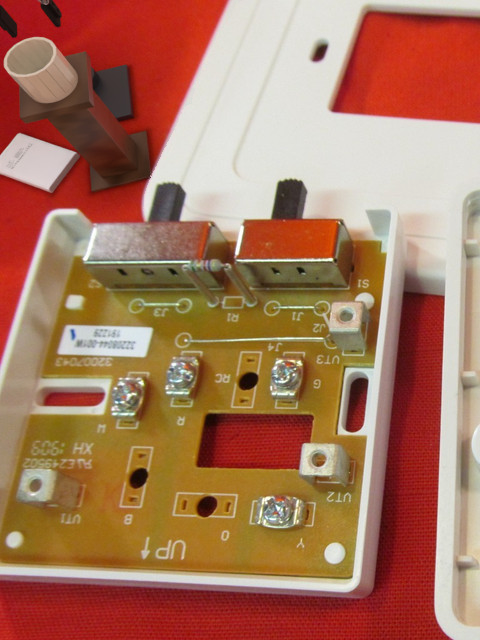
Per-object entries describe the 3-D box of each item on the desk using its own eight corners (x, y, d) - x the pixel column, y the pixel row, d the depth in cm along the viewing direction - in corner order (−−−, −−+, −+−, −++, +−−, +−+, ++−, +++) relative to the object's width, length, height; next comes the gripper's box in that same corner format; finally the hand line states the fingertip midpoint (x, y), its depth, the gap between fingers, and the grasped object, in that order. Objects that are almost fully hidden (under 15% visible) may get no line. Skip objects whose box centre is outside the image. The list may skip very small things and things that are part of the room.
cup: (28, 108, 98) (3, 82, 94) (28, 71, 101) (3, 44, 96) (79, 96, 99) (56, 69, 94) (77, 59, 101) (55, 31, 97)
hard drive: (54, 195, 115) (-5, 173, 117) (82, 158, 118) (24, 137, 120) (47, 189, 113) (-12, 167, 116) (76, 151, 116) (18, 131, 118)
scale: (73, 135, 119) (62, 123, 117) (70, 81, 124) (59, 68, 121) (135, 119, 120) (126, 107, 117) (130, 66, 125) (121, 53, 122)
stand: (94, 194, 115) (19, 118, 98) (91, 148, 118) (18, 67, 101) (153, 179, 115) (89, 100, 98) (148, 134, 119) (85, 51, 102)
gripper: (11, -115, 96) (89, -3, 113) (-114, -87, 95) (-17, 22, 112) (12, -80, 93) (91, 30, 110) (-117, -51, 92) (-17, 56, 109)
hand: (36, 25), depth 111 cm, fingers open, 6 cm apart
